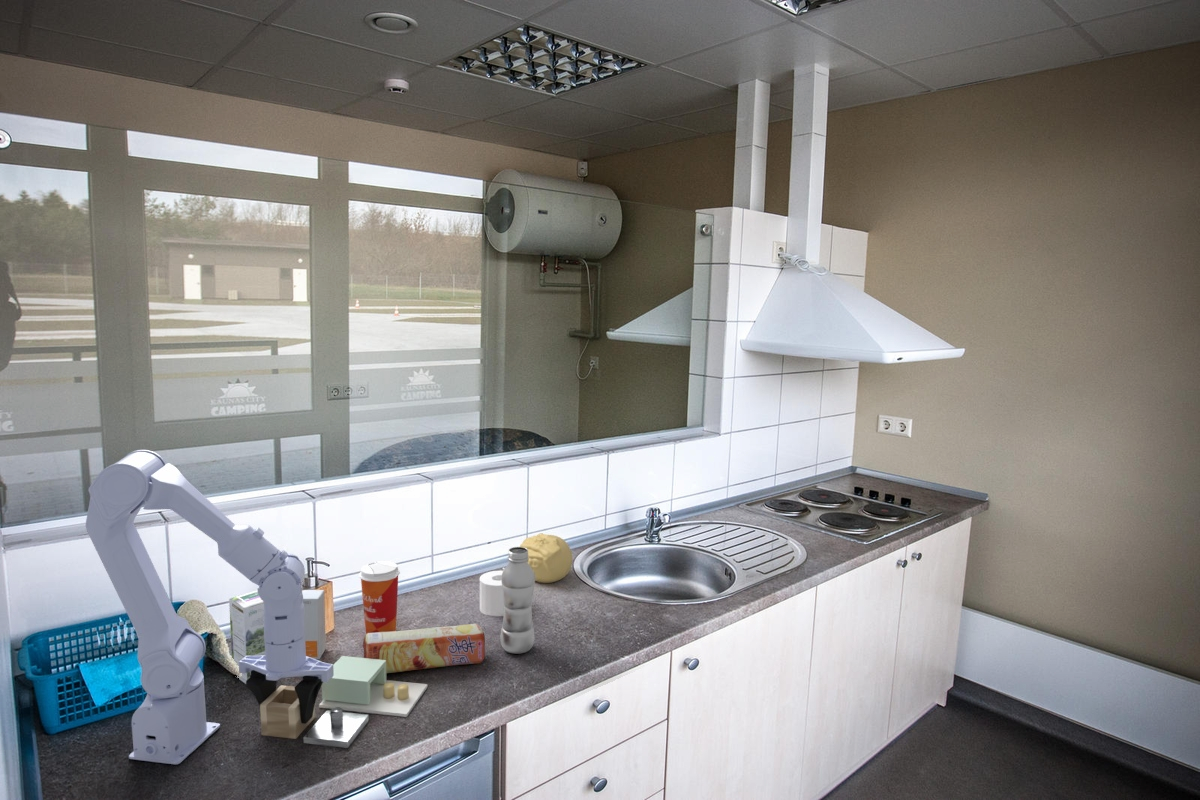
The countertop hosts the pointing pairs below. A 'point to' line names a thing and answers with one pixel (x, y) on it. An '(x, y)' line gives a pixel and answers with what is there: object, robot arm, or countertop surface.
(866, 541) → the countertop surface
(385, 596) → the paper cup
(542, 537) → the sculpture
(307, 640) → the skincare box
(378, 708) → the plate
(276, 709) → the hollow square wooden block
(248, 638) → the syrup box
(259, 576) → the robot arm
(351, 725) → the pin plate
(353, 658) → the cover
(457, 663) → the snack package
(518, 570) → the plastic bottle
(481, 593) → the toilet paper
